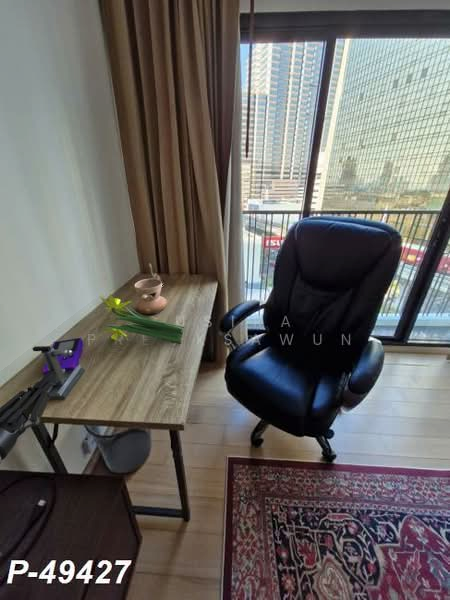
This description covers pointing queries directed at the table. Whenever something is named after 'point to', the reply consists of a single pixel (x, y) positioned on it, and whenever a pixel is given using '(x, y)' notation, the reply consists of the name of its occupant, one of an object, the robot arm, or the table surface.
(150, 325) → the daffodil flowers
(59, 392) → the base
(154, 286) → the ceramic jug
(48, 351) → the tap
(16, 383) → the table surface
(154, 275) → the ostrich figurine
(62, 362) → the handheld gaming console
